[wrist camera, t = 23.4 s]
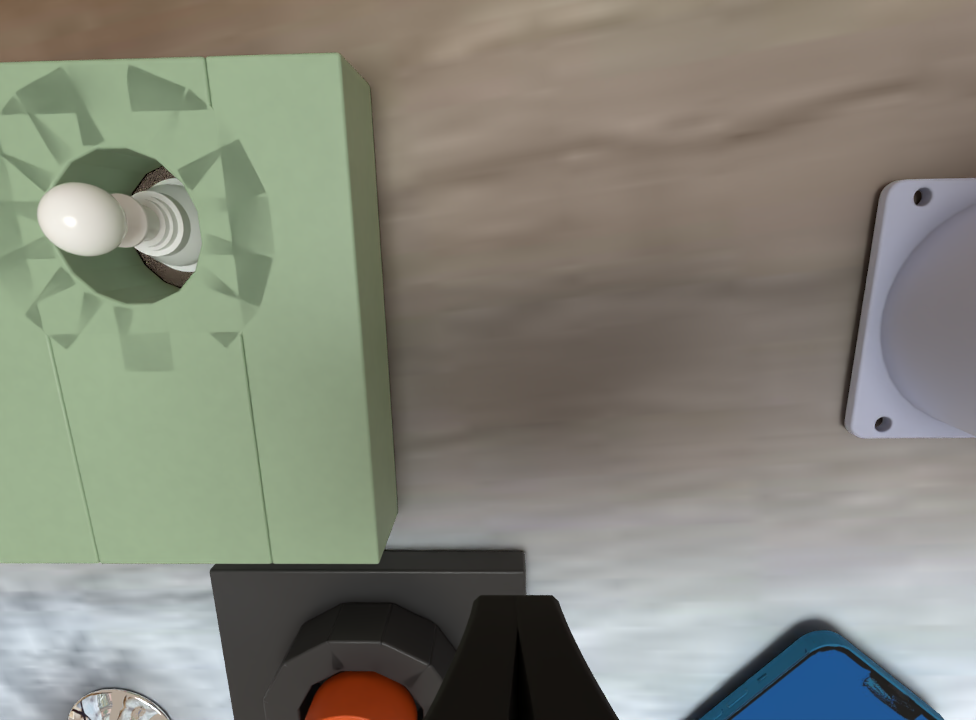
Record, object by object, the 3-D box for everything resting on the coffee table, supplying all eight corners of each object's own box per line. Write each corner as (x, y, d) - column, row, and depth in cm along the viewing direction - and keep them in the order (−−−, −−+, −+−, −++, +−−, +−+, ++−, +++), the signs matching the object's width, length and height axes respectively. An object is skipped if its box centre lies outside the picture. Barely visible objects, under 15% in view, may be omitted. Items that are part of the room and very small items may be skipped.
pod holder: (370, 84, 15) (339, 51, 13) (398, 513, 19) (379, 565, 16) (-26, 95, 16) (-144, 65, 13) (72, 513, 19) (-6, 564, 16)
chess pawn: (173, 285, 17) (42, 307, 12) (126, 201, 16) (-32, 189, 12) (249, 250, 17) (145, 259, 12) (204, 163, 16) (75, 135, 11)
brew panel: (524, 550, 19) (528, 608, 16) (524, 747, 21) (528, 829, 18) (225, 549, 19) (176, 606, 17) (255, 743, 22) (217, 823, 19)
